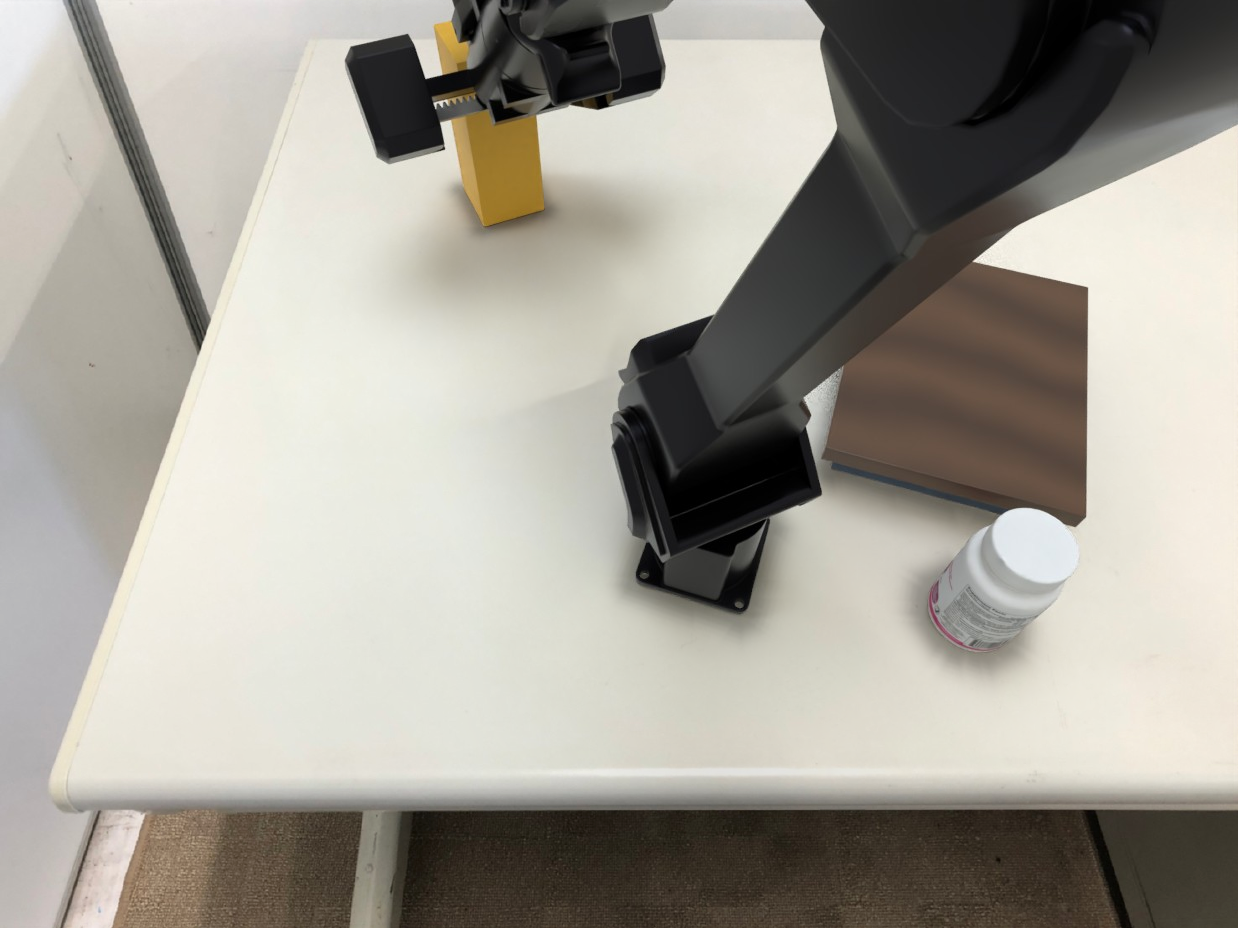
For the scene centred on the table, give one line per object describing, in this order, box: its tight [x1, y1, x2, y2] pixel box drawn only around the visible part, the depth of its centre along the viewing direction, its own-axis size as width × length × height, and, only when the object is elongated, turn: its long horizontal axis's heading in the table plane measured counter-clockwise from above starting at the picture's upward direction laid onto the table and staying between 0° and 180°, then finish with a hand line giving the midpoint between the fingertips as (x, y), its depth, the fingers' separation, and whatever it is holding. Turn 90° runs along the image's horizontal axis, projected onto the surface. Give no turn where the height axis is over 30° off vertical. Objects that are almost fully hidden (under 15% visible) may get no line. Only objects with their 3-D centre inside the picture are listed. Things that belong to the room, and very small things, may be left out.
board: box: [820, 261, 1089, 528], centre depth 50 cm, size 18×14×5 cm
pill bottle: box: [927, 508, 1080, 653], centre depth 40 cm, size 5×5×8 cm
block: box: [433, 20, 545, 227], centre depth 57 cm, size 5×5×13 cm
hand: (492, 108), depth 56 cm, fingers open, 9 cm apart
